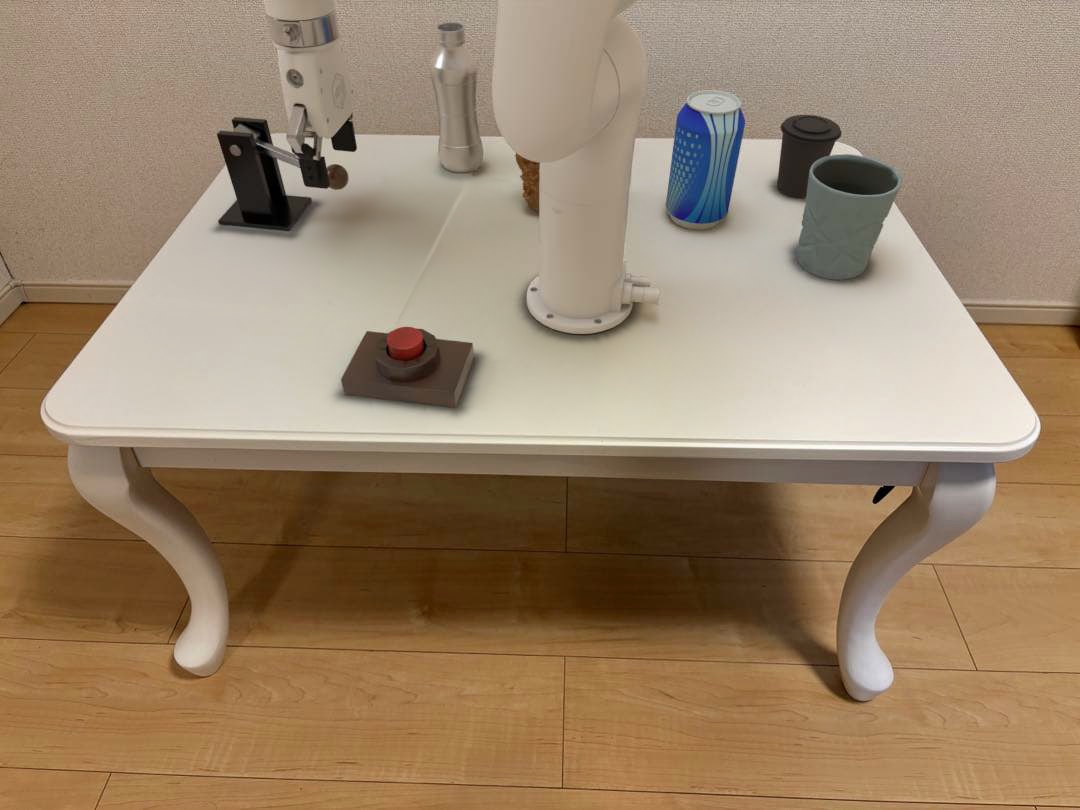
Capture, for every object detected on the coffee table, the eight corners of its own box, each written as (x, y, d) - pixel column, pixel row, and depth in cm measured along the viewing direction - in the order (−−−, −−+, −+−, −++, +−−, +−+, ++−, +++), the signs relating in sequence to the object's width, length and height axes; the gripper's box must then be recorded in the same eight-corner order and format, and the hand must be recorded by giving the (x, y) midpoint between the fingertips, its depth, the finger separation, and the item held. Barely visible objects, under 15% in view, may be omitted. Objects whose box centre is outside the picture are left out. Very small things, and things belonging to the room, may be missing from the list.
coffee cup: (755, 182, 111) (769, 115, 104) (800, 170, 114) (817, 104, 107) (790, 208, 106) (808, 139, 99) (836, 195, 109) (857, 127, 102)
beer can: (736, 228, 103) (760, 111, 91) (678, 236, 101) (695, 118, 90) (711, 197, 108) (731, 83, 97) (655, 204, 107) (669, 90, 96)
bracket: (313, 204, 107) (292, 115, 98) (290, 235, 102) (265, 143, 93) (246, 198, 108) (219, 110, 99) (220, 228, 103) (189, 137, 94)
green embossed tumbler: (886, 277, 94) (919, 189, 86) (812, 289, 93) (839, 200, 84) (843, 234, 101) (870, 148, 93) (773, 244, 100) (795, 158, 91)
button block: (474, 358, 84) (471, 329, 81) (455, 408, 78) (452, 380, 75) (369, 346, 85) (363, 317, 82) (344, 394, 80) (337, 366, 77)
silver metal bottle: (478, 180, 112) (468, 37, 98) (434, 176, 113) (418, 33, 99) (489, 160, 116) (481, 20, 102) (446, 156, 117) (433, 17, 103)
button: (428, 341, 80) (426, 328, 79) (418, 363, 78) (416, 350, 77) (395, 337, 81) (393, 324, 79) (384, 359, 78) (382, 346, 77)
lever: (350, 186, 101) (354, 165, 99) (341, 198, 99) (345, 177, 97) (240, 141, 99) (241, 119, 97) (228, 152, 97) (229, 130, 95)
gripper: (306, 58, 79) (335, 205, 92) (362, 4, 92) (381, 140, 104) (238, 53, 80) (276, 199, 92) (302, -1, 92) (328, 135, 105)
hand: (331, 167), depth 98 cm, fingers open, 9 cm apart
